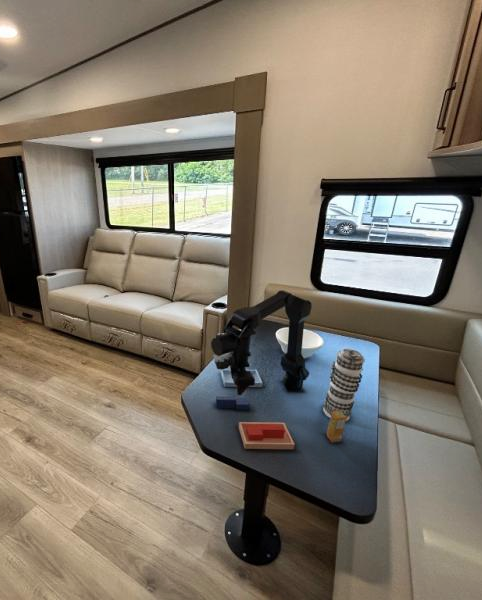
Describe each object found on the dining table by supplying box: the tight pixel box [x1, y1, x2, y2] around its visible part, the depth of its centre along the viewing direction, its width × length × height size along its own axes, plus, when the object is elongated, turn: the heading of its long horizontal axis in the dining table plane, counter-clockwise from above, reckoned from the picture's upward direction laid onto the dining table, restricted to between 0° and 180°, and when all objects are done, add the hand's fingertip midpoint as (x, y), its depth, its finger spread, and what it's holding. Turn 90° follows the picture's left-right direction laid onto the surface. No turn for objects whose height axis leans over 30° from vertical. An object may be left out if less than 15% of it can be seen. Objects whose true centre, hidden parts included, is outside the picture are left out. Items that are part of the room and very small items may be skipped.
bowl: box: [275, 326, 325, 359], centre depth 151 cm, size 21×21×8 cm
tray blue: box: [220, 368, 263, 388], centre depth 131 cm, size 15×9×2 cm, turn 89°
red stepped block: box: [246, 426, 285, 441], centre depth 101 cm, size 11×4×4 cm, turn 89°
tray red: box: [238, 421, 295, 450], centre depth 102 cm, size 15×9×2 cm, turn 89°
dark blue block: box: [215, 395, 249, 411], centre depth 116 cm, size 11×4×4 cm, turn 89°
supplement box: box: [326, 411, 347, 443], centre depth 100 cm, size 3×3×10 cm
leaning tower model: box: [322, 348, 366, 422], centre depth 108 cm, size 9×9×25 cm
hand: (236, 386), depth 110 cm, fingers open, 9 cm apart
